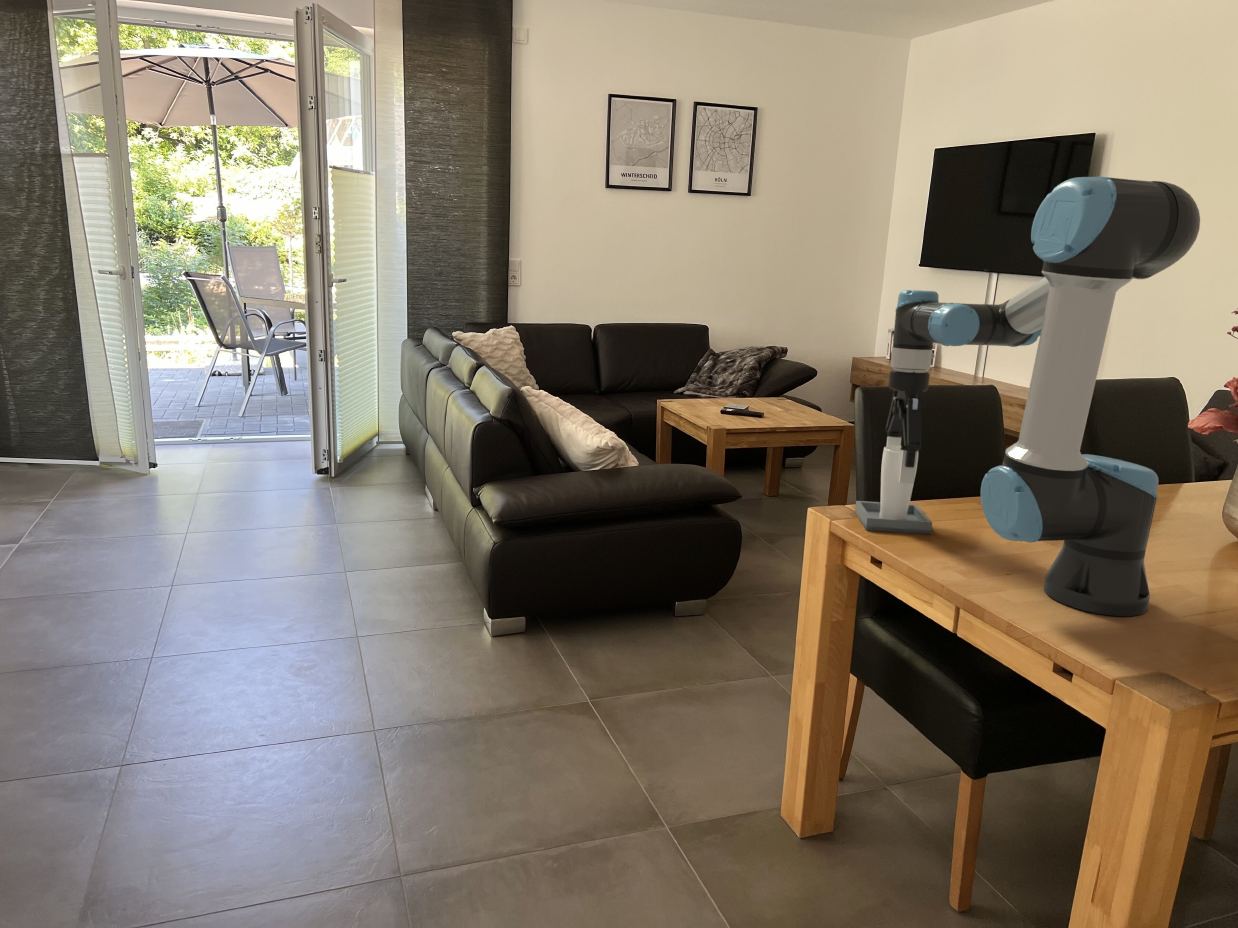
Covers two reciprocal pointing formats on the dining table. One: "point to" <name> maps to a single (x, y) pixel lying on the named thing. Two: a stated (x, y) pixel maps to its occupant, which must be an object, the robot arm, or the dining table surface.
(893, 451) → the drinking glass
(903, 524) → the tray
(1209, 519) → the dining table surface
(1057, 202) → the robot arm
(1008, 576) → the dining table surface
